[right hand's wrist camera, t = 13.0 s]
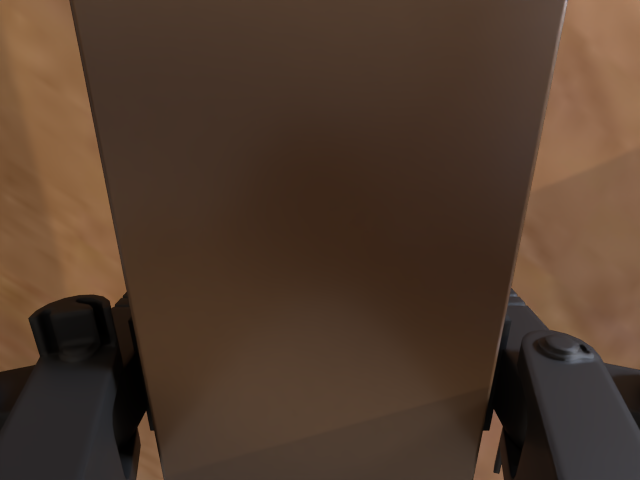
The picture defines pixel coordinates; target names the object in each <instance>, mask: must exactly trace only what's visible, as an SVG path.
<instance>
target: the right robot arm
mask: <svg viewBox="0 0 640 480" xmlns="http://www.w3.org/2000/svg"><path fill="white" fill-rule="evenodd" d="M28 319H29V322H30V325H31V329H32V332H33V335H34V338H35V342H36V345H37V348H38V351H39V354H40V358H39V360H38V362H37V364H36V365H33V366H28V367H23V368H18V369H13V370H8V371H2V372H0V480H136V477H137V469H138V462H139V454H140V447H141V444H140V437H139V433H138V428H137V427H138V425H139V423H140V421H141V419H142V417H143V416H144V414H145V412H146V411H147V416H148V421H149V426H150V431H154V427H153V422H152V417H151V411H150V406H149V401H148V396H147V391H146V386H145V381H144V376H143V371H142V366H141V361H140V356H139V351H138V345H137V340H136V335H135V330H134V325H133V320H132V315H131V310H130V305H129V300H128V295H127V292H126V293H125V294H124V295H123V298H121V299H120V300H119V301H118V302H117V303H116V304H115V307H113V308H112V309H111V306H110V301H109V300H108V299H106V298H105V297H103V296H98V295H78V296H73V297H68V298H63V299H60V300H58V301H55V302H52V303H49V304H47V305H45V306H44V307H42V308H40V309H38V310H36V311H35V312H34V313H33V314H32V315H31V316H30V317H29V318H28ZM493 410H495V412H496V414H497V416H498V418H499V420H500V422H501V423H502V425H503V428H502V433H501V437H500V442H499V446H498V451H497V455H496V460H495V465H494V473H498V474H499V472H500V468H501V465H502V468H503V476H504V480H640V370H637V369H632V368H627V367H622V366H616V365H611V364H607V363H603V361H602V359H601V357H600V356H599V354H598V353H597V352H596V351H595V350H594V349H593V348H592V347H591V346H589V345H588V344H586V343H585V342H583V341H582V340H580V339H578V338H575V337H573V336H571V335H568V334H565V333H561V332H557V331H552V330H549V329H548V328H547V327H546V326H545V325H544V324H543V322H542V321H541V320H540V319H539V318H538V317H537V316H536V315H535V314H534V312H533V311H532V310H531V309H530V308H529V307H528V306H525V303H524V301H523V300H522V299H521V298H520V297H517V294H516V293H515V292H514V290H513V289H512V288H511V291H510V296H509V301H508V306H507V311H506V316H505V321H504V326H503V331H502V336H501V341H500V346H499V351H498V356H497V362H496V367H495V372H494V377H493V382H492V387H491V392H490V397H489V402H488V407H487V412H486V417H485V422H484V427H483V431H489V429H490V425H491V420H492V415H493Z"/></svg>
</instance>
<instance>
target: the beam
mask: <svg viewBox="0 0 640 480" xmlns="http://www.w3.org/2000/svg"><path fill="white" fill-rule="evenodd" d="M567 3H568V0H70V5H71V10H72V16H73V21H74V26H75V31H76V36H77V41H78V46H79V51H80V56H81V61H82V66H83V71H84V76H85V82H86V87H87V92H88V97H89V102H90V107H91V112H92V117H93V122H94V127H95V132H96V137H97V142H98V148H99V153H100V158H101V163H102V168H103V173H104V178H105V183H106V188H107V193H108V198H109V203H110V208H111V214H112V219H113V224H114V229H115V234H116V239H117V244H118V249H119V254H120V259H121V264H122V269H123V274H124V279H125V285H126V290H127V295H128V300H129V305H130V310H131V315H132V320H133V325H134V330H135V335H136V340H137V345H138V351H139V356H140V361H141V366H142V371H143V376H144V381H145V386H146V391H147V396H148V401H149V406H150V411H151V417H152V422H153V427H154V432H155V437H156V442H157V447H158V452H159V457H160V462H161V467H162V472H163V477H164V480H473V478H474V473H475V468H476V463H477V458H478V453H479V447H480V442H481V437H482V432H483V427H484V422H485V417H486V412H487V407H488V402H489V397H490V392H491V387H492V382H493V377H494V372H495V367H496V362H497V356H498V351H499V346H500V341H501V336H502V331H503V326H504V321H505V316H506V311H507V306H508V301H509V296H510V291H511V286H512V281H513V276H514V271H515V265H516V260H517V255H518V250H519V245H520V240H521V235H522V230H523V225H524V220H525V215H526V210H527V205H528V200H529V195H530V190H531V185H532V180H533V174H534V169H535V164H536V159H537V154H538V149H539V144H540V139H541V134H542V129H543V124H544V119H545V114H546V109H547V104H548V99H549V94H550V89H551V83H552V78H553V73H554V68H555V63H556V58H557V53H558V48H559V43H560V38H561V33H562V28H563V23H564V18H565V13H566V8H567Z"/></svg>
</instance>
